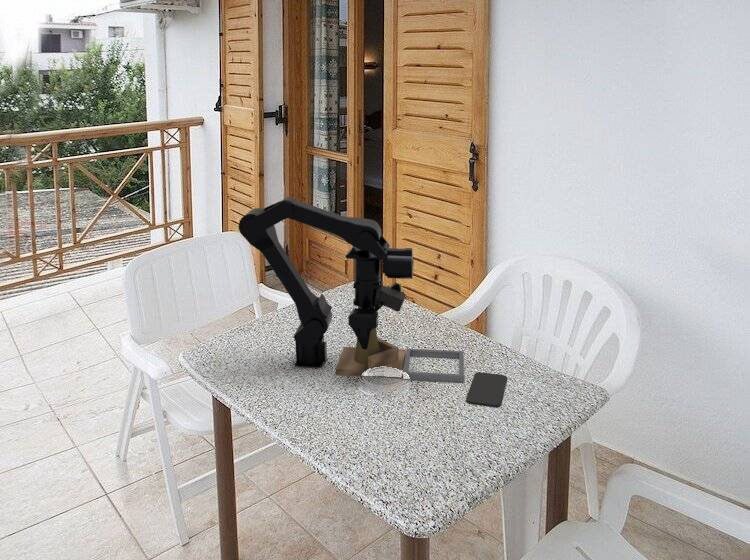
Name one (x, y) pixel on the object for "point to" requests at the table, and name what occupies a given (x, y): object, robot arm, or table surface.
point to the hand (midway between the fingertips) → (367, 340)
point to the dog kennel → (371, 359)
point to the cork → (372, 349)
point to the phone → (487, 389)
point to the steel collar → (435, 376)
